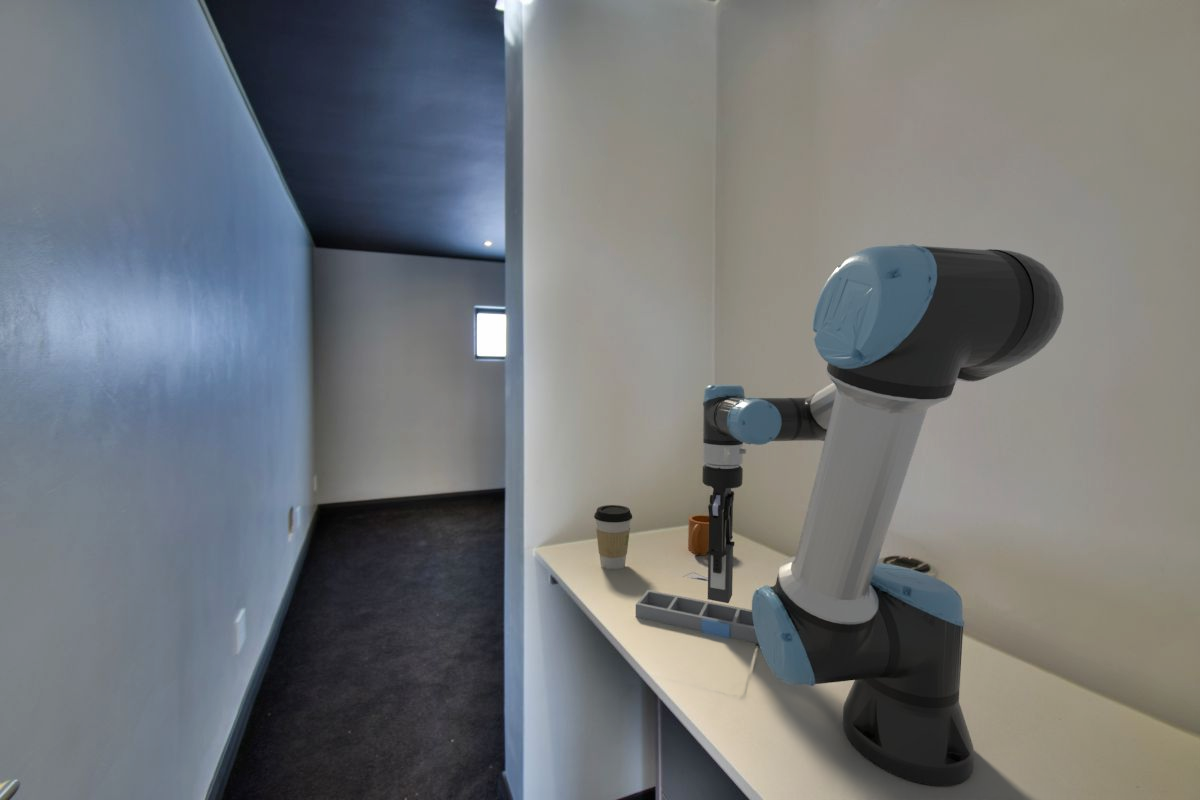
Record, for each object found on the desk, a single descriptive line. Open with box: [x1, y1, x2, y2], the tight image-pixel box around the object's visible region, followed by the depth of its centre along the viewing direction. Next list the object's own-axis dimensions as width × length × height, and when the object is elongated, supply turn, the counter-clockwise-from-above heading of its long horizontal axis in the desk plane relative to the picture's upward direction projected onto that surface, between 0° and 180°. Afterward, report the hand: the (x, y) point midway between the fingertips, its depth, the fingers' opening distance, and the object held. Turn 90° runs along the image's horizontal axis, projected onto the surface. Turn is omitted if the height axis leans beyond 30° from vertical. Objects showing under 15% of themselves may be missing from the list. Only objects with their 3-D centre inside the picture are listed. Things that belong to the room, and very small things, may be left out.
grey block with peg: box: [707, 538, 734, 604], centre depth 98 cm, size 4×4×12 cm
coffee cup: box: [593, 504, 633, 570], centre depth 129 cm, size 10×10×15 cm
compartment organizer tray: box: [635, 589, 760, 648], centre depth 99 cm, size 8×26×3 cm, turn 66°
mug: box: [687, 514, 709, 556], centre depth 141 cm, size 9×12×9 cm
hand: (720, 582), depth 98 cm, fingers closed on grey block with peg, 4 cm apart
